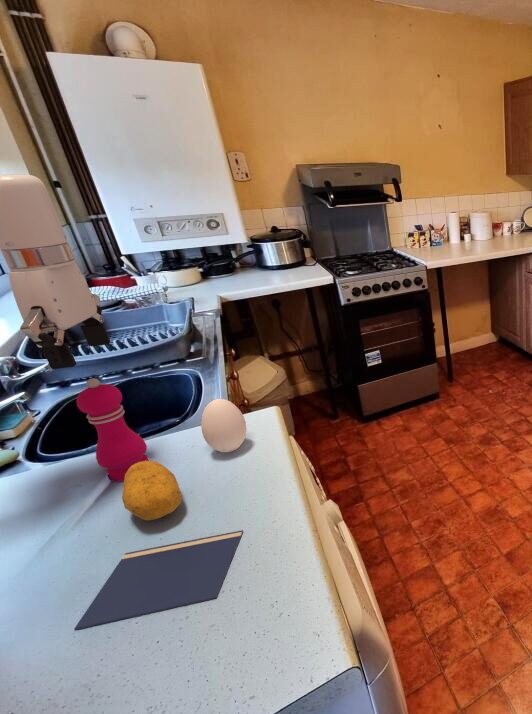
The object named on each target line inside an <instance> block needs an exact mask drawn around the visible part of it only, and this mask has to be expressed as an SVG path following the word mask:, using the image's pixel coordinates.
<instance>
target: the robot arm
mask: <svg viewBox="0 0 532 714" xmlns="http://www.w3.org/2000/svg"><path fill="white" fill-rule="evenodd" d="M0 252H1V255H2V256H3V258H4V261H5V263H6V265H7V267H8V268H9V272H8V278H9V283H10V288H11V291H12V294H13V298H14V301H15V303H16V306H17V309H18V310H19V313H20V316H21V319H22V321H23V322H22V324H21V325H20V327H19V329H20V332H22V333H23V334H24V335H25V336H26V337H27V338H28V339H29V341H30V342H31V343H34V344H36V346H37V347H38V348H40V349H41V350H42V352H43V354H44V356H45V358H46V360H47V362H48V364H49V367H50V368H51V369H52V370H59V369H67V368H73V367H75V366H77V361H76V359H75V357H74V354H73V352H72V350H71V348H70V345H69V344H68V342H64V339H65V331H66V330H68V329H71V328H73V327H75V326H77V325H79V324H80V323H81V324H82V325H80V328H81V331H82V334H83V336H84V338H85V341H86V343H87V345H88V346H89V347H99V346H107V345H110V344H111V342H112V341H111V339H110V337H109V334H108V332H107V330H106V327H105V324H104V322H105V319H104V317H103V316H102V313H103V308H102V307H101V297H100V296H99V295H98V294H94V293H92V291H91V288H90V286H89V285H88V283H87V281H86V279H85V276H84V274H83V273H82V271H81V270H80V268H79V266H78V265H77V261H76V259H75V256H74V253H73V251H72V248H71V246H70V244H69V241H68V239H67V236H66V234H65V231H64V228H63V226H62V224H61V221H60V218H59V217H58V215H57V212H56V210H55V206H54V205H53V202H52V200H51V196H50V195H49V192H48V189H47V187H46V186H45V184H44V182H43V181H42V180H41V179H40V178H39V177H37V176H35V175H31V174H26V173H25V174H23V173H21V174H20V173H19V174H0ZM50 333H54V334H53V336H52V335H50Z"/></svg>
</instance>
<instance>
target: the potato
mask: <svg viewBox="0 0 532 714" xmlns="http://www.w3.org/2000/svg"><path fill="white" fill-rule="evenodd" d="M122 485H123V486H122V487H123V489H122V496H121V499H122V503H123V506H124V508H125V510H127V511H129V512H130V513H131V514H133V515H134V516H136V517H138V519H141V520H144V521H154V520H157V519H160V518H162V517H165V516H167V515H169V514H172V513H173V512H174V511H175V510H176V509H177V508H178V507H179V505H180V504H181V503H182V497H183V496H182V492H181V490H180V486H179V483H178V480H177V478H176V476H175V474H174V473H173V471H171V470H170V469H168V468H167V467H166V466H164V465H163V464H161V463H160V462H158V461H156V460H155V461H154V460H153V461H152V460H149V461H141V462H138V463H136V464H134V465H132V466H131V467H130V468H129V469H128V471H127V472H126V474H125V478H124V481H123V484H122Z"/></svg>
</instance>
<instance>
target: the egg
mask: <svg viewBox="0 0 532 714" xmlns="http://www.w3.org/2000/svg"><path fill="white" fill-rule="evenodd" d="M200 428H201V433H202V436H203V439H204V441H205V442H206V444H207V445H208V446H209V447H210V448H212V449H213V450H215V451H217V452H220V453H231V452H234V451H235V450H237V449H238V448H240V446H241V445H242V444H243V442H244V441H245V439H246V435H247V428H248V427H247V422H246V419H245V417H244V414H243V413H242V411H241V409H239V408H238V406H237V405H235V404H234V403H233V402H232V401H230V400H228V399H224V398H216V399H213V400H211V401H210V402H209V403H208V404H207V405H206V406H205V408H204V409H203V412H202V415H201V421H200Z"/></svg>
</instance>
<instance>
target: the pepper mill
mask: <svg viewBox="0 0 532 714" xmlns="http://www.w3.org/2000/svg"><path fill="white" fill-rule="evenodd" d="M85 385H86V388H85V389H83V390H82V391H80V392H79V394H78V395H77V397H76V406H77V408H78V409H79V411H80V412H81V413H83V414H84V413H85V414H87V415H86V419H88V423H89V424H90V425H93V426H94V427H95V430H96V432H97V444H96V448H95V459H96V463H97V464H98V465H99V466H100V467H101V468H105V469H106V470H105V471H106V473H107V478H108V480H109V481H111V482H116V483H117V482H124V478H125V474H126V472H127V471H128V469H129V468H130V467H131V466H132V465H134V464H136V463H138V462H141V461H150V459H149V457H148V455H146V452H147V451H148V450H147V449H148V446H147V443H146V441H145V440H144V438H142V436H141V435H139V434H138V433H137V432H135V431H134V430H132V429H131V428H130V427H129V426H128V425H127V422H126V421H125V418H124V414H125V412H126V411H125V410H124V406H123V405H122V404H121V403H122V401H123V394H122V391H121V390H120V389H119V388H118V387H116V386H115V385H112V384H109V383H101V382H100V380H99V379H98V378H95V377H94V378H89V379H87V381H86V383H85Z"/></svg>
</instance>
